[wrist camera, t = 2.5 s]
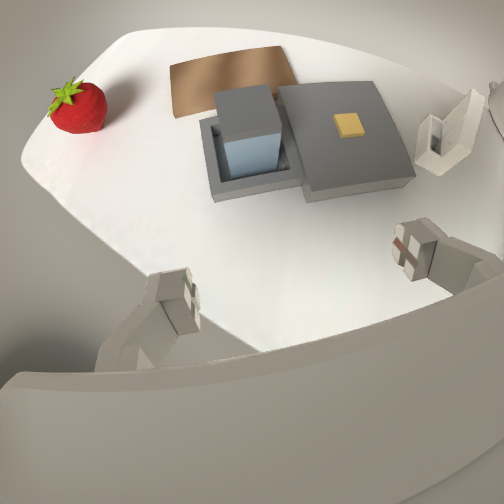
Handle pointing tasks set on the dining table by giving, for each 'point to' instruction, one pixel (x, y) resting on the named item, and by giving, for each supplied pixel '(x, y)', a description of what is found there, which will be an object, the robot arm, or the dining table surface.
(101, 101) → the strawberry
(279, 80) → the walnut pad
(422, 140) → the white slotted stand
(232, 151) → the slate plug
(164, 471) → the robot arm
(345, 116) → the grey socket base
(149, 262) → the dining table surface
